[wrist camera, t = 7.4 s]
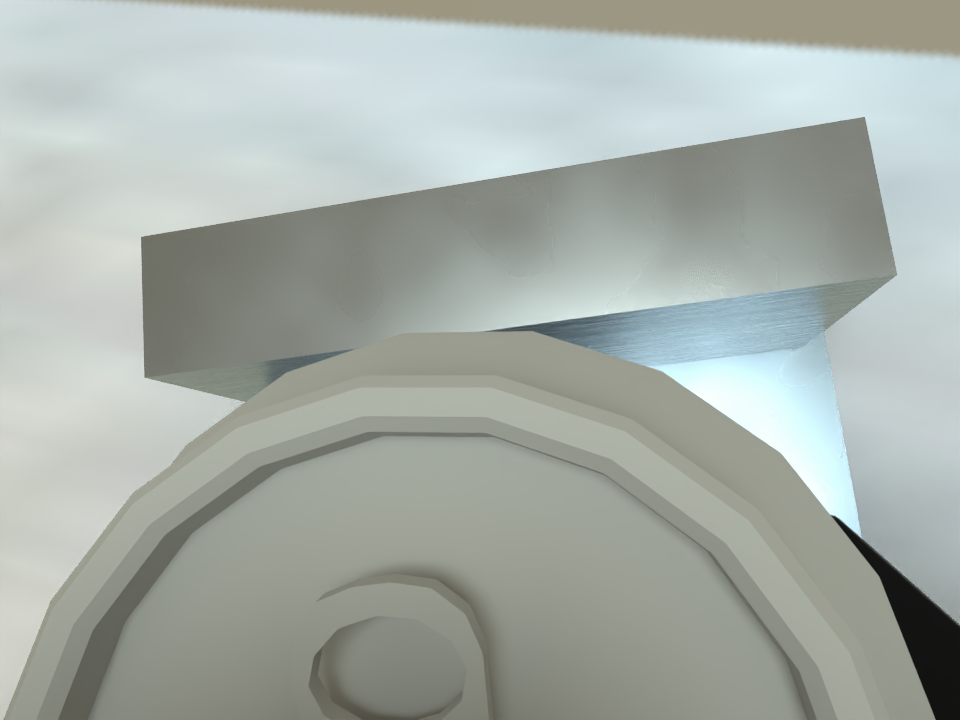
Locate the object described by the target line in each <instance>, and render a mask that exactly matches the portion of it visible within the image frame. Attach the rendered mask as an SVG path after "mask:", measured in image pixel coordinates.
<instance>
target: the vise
mask: <svg viewBox="0 0 960 720" xmlns="http://www.w3.org/2000/svg"><path fill="white" fill-rule="evenodd" d="M141 249H142V289H143V330H144V370H145V378H149V379H153V380H157V381H161V382H165V383H169V384H174V385H178V386H182V387H186V388H190V389H194V390H198V391H203V392H207V393H211V394H215V395H219V396H223V397H228V398H232V399H236V400H240V401H244V402H247V401H248V400H249V399H251V398H252V397H253V396H255V395H256V394H258V393H259V392H260V391H262V390H263V389H264V388H266V387H267V386H269V385H270V384H271V383H273V382H274V381H275V380H277V379H278V378H280V377H281V376H282V375H284V374H285V373H286V372H289V371H292V370H295V369H298V368H301V367H304V366H307V365H310V364H313V363H316V362H319V361H322V360H325V359H328V358H331V357H334V356H337V355H340V354H343V353H346V352H349V351H352V350H355V349H358V348H361V347H364V346H367V345H370V344H373V343H376V342H379V341H382V340H384V339H387V338H390V337H393V336H396V335H399V334H402V333H430V332H510V331H533V332H537V333H540V334H543V335H546V336H550V337H553V338H556V339H559V340H563V341H566V342H569V343H572V344H576V345H579V346H582V347H585V348H589V349H592V350H595V351H598V352H602V353H605V354H608V355H611V356H615V357H618V358H621V359H624V360H628V361H631V362H634V363H637V364H641V365H644V366H647V367H650V368H653V369H657V370H660V371H662V372H664V373H665V374H667V375H668V376H670V377H671V378H673V379H674V380H676V381H677V382H678V383H680V384H681V385H683V386H684V387H686V388H687V389H689V390H690V391H691V392H693V393H694V394H696V395H697V396H699V397H700V398H702V399H703V400H705V401H706V402H707V403H709V404H710V405H712V406H713V407H715V408H716V409H718V410H719V411H721V412H722V413H723V414H725V415H726V416H728V417H729V418H731V419H732V420H734V421H735V422H737V423H738V424H739V425H741V426H742V427H744V428H745V429H747V430H748V431H750V432H751V433H752V434H754V435H755V436H757V437H758V438H760V439H761V440H763V441H764V442H766V443H767V444H768V445H770V446H771V447H773V448H774V449H776V450H777V451H779V452H780V453H782V455H783V456H784V457H785V458H786V460H787V461H788V462H789V463H790V465H791V466H792V467H793V468H794V470H795V471H796V472H797V474H798V475H799V476H800V477H801V479H802V480H803V481H804V482H805V484H806V485H807V486H808V487H809V489H810V490H811V491H812V492H813V494H814V495H815V496H816V497H817V499H818V500H819V501H820V503H821V504H822V505H823V506H824V508H825V509H826V510H827V511H828V513H829V514H830V515H834V516H836V517H838V518H839V519H840V520H842V521H843V522H844V523H845V524H846V525H847V526H848V527H849V528H851V529H852V530H853V531H854V532H855V533H856V534H857V535H859V536H860V537H861V538H862V535H861V529H860V524H859V518H858V513H857V508H856V502H855V497H854V491H853V486H852V481H851V475H850V470H849V464H848V459H847V454H846V448H845V443H844V437H843V432H842V427H841V421H840V416H839V410H838V405H837V400H836V394H835V389H834V383H833V378H832V373H831V367H830V362H829V356H828V351H827V346H826V340H825V335H824V331H825V330H826V329H827V328H829V327H830V326H831V325H832V324H834V323H835V322H836V321H838V320H839V319H840V318H842V317H843V316H844V315H845V314H847V313H848V312H849V311H851V310H852V309H853V308H855V307H856V306H857V305H858V304H860V303H861V302H862V301H864V300H865V299H866V298H868V297H869V296H870V295H871V294H873V293H874V292H875V291H877V290H878V289H879V288H881V287H882V286H883V285H884V284H886V283H887V282H888V281H890V280H891V279H892V278H894V277H895V276H896V275H897V272H896V267H895V262H894V257H893V252H892V248H891V243H890V238H889V233H888V228H887V223H886V218H885V213H884V209H883V204H882V199H881V194H880V189H879V184H878V179H877V174H876V170H875V165H874V160H873V155H872V150H871V145H870V140H869V135H868V131H867V126H866V121H865V117H862V118H856V119H850V120H844V121H838V122H832V123H826V124H820V125H814V126H808V127H802V128H796V129H790V130H784V131H778V132H772V133H766V134H760V135H754V136H748V137H741V138H735V139H729V140H723V141H717V142H711V143H705V144H699V145H693V146H687V147H681V148H675V149H669V150H663V151H657V152H651V153H645V154H639V155H633V156H627V157H621V158H615V159H609V160H603V161H597V162H591V163H585V164H579V165H572V166H566V167H560V168H554V169H548V170H542V171H536V172H530V173H524V174H518V175H512V176H506V177H500V178H494V179H488V180H482V181H476V182H470V183H464V184H458V185H452V186H446V187H440V188H434V189H428V190H422V191H416V192H410V193H403V194H397V195H391V196H385V197H379V198H373V199H367V200H361V201H355V202H349V203H343V204H337V205H331V206H325V207H319V208H313V209H307V210H301V211H295V212H289V213H283V214H277V215H271V216H265V217H259V218H253V219H247V220H241V221H234V222H228V223H222V224H216V225H210V226H204V227H198V228H192V229H186V230H180V231H174V232H168V233H162V234H156V235H150V236H144V237H141Z"/></svg>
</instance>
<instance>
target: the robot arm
mask: <svg viewBox="0 0 960 720" xmlns="http://www.w3.org/2000/svg"><path fill="white" fill-rule="evenodd" d="M831 516H832V518H833V519H834V520H835V521H836V523H837V524H838V525H839V526H840V528H841V529H842V530H843V532H844V533H845V534H846V535H847V537H848V538H849V539H850V540H851V542H852V543H853V544H854V545H855V547H856V548H857V549H858V550H859V552H860V553H861V554H862V555H863V557H864V558H865V559H866V561H867V562H868V563H869V564H870V566H871V567H872V568H873V569H874V571H875V572H876V573H877V574H878V576H879V577H880V580H881V582H882V585H883V588H884V590H885V593H886V595H887V598H888V600H889V603H890V605H891V608H892V610H893V613H894V615H895V618H896V621H897V623H898V626H899V628H900V631H901V633H902V636H903V638H904V641H905V643H906V646H907V648H908V651H909V654H910V656H911V659H912V661H913V664H914V666H915V669H916V671H917V674H918V676H919V679H920V681H921V684H922V687H923V689H924V692H925V694H926V697H927V699H928V702H929V704H930V707H931V709H932V712H933V715H934V717H935V720H960V625H959V624H958V623H957V622H956V621H954V620H953V619H952V618H951V617H950V616H949V615H948V614H947V613H945V612H944V611H943V610H942V609H941V608H940V607H939V606H938V605H936V604H935V603H934V602H933V601H932V600H931V599H930V598H929V597H927V596H926V595H925V594H924V593H923V592H922V591H921V590H919V589H918V588H917V587H916V586H915V585H914V584H913V583H912V582H910V581H909V580H908V579H907V578H906V577H905V576H904V575H903V574H901V573H900V572H899V571H898V570H897V569H896V568H895V567H894V566H892V565H891V564H890V563H889V562H888V561H887V560H886V559H884V558H883V557H882V556H881V555H880V554H879V553H878V552H877V551H875V550H874V549H873V548H872V547H871V546H870V545H869V544H868V543H866V542H865V541H864V540H863V539H862V538H861V537H860V536H859V535H857V534H856V533H855V532H854V531H853V530H852V529H851V528H849V527H848V526H847V525H846V524H845V523H844V522H843V521H842V520H840V519H839V518H838V517H836V516H834V515H831Z"/></svg>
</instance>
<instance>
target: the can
mask: <svg viewBox="0 0 960 720" xmlns="http://www.w3.org/2000/svg"><path fill="white" fill-rule="evenodd" d="M4 720H935V717H934V715H933V712H932V709H931V707H930V704H929V702H928V699H927V697H926V694H925V692H924V689H923V687H922V684H921V681H920V679H919V676H918V674H917V671H916V669H915V666H914V664H913V661H912V659H911V656H910V654H909V651H908V648H907V646H906V643H905V641H904V638H903V636H902V633H901V631H900V628H899V626H898V623H897V621H896V618H895V615H894V613H893V610H892V608H891V605H890V603H889V600H888V598H887V595H886V593H885V590H884V588H883V585H882V582H881V580H880V577H879V576H878V574H877V573H876V572H875V571H874V569H873V568H872V567H871V566H870V564H869V563H868V562H867V561H866V559H865V558H864V557H863V555H862V554H861V553H860V552H859V550H858V549H857V548H856V547H855V545H854V544H853V543H852V542H851V540H850V539H849V538H848V537H847V535H846V534H845V533H844V532H843V530H842V529H841V528H840V526H839V525H838V524H837V523H836V521H835V520H834V519H833V518H832V516H831V515H830V514H829V513H828V511H827V510H826V509H825V508H824V506H823V505H822V504H821V503H820V501H819V500H818V499H817V497H816V496H815V495H814V494H813V492H812V491H811V490H810V489H809V487H808V486H807V485H806V484H805V482H804V481H803V480H802V479H801V477H800V476H799V475H798V474H797V472H796V471H795V470H794V468H793V467H792V466H791V465H790V463H789V462H788V461H787V460H786V458H785V457H784V456H783V455H782V453H780V452H779V451H777V450H776V449H774V448H773V447H771V446H770V445H768V444H767V443H766V442H764V441H763V440H761V439H760V438H758V437H757V436H755V435H754V434H752V433H751V432H750V431H748V430H747V429H745V428H744V427H742V426H741V425H739V424H738V423H737V422H735V421H734V420H732V419H731V418H729V417H728V416H726V415H725V414H723V413H722V412H721V411H719V410H718V409H716V408H715V407H713V406H712V405H710V404H709V403H707V402H706V401H705V400H703V399H702V398H700V397H699V396H697V395H696V394H694V393H693V392H691V391H690V390H689V389H687V388H686V387H684V386H683V385H681V384H680V383H678V382H677V381H676V380H674V379H673V378H671V377H670V376H668V375H667V374H665V373H664V372H662V371H660V370H657V369H653V368H650V367H647V366H644V365H641V364H637V363H634V362H631V361H628V360H624V359H621V358H618V357H615V356H611V355H608V354H605V353H602V352H598V351H595V350H592V349H589V348H585V347H582V346H579V345H576V344H572V343H569V342H566V341H563V340H559V339H556V338H553V337H550V336H546V335H543V334H540V333H537V332H533V331H510V332H430V333H402V334H399V335H396V336H393V337H390V338H387V339H384V340H382V341H379V342H376V343H373V344H370V345H367V346H364V347H361V348H358V349H355V350H352V351H349V352H346V353H343V354H340V355H337V356H334V357H331V358H328V359H325V360H322V361H319V362H316V363H313V364H310V365H307V366H304V367H301V368H298V369H295V370H292V371H289V372H286V373H285V374H284V375H282V376H281V377H280V378H278V379H277V380H275V381H274V382H273V383H271V384H270V385H269V386H267V387H266V388H264V389H263V390H262V391H260V392H259V393H258V394H256V395H255V396H253V397H252V398H251V399H249V400H248V401H247V402H245V403H244V404H242V405H241V406H240V407H238V408H237V409H236V410H234V411H233V412H231V413H230V414H229V415H227V416H226V417H225V418H223V419H222V420H220V421H219V422H218V423H216V424H215V425H214V426H212V427H211V428H210V429H208V430H207V431H205V432H204V433H203V434H201V435H200V436H199V437H197V438H196V439H194V440H193V441H192V442H190V443H189V444H188V445H186V446H185V448H184V449H183V450H182V451H181V453H180V454H179V455H178V457H177V458H176V459H175V461H174V462H173V463H172V465H171V466H170V467H168V468H167V469H166V470H164V471H163V472H161V473H160V474H159V475H157V476H156V477H155V478H153V479H152V480H150V481H149V482H148V483H146V484H145V485H144V486H142V487H141V488H139V489H138V490H137V491H135V492H134V493H133V494H132V495H131V496H130V498H129V499H128V500H127V502H126V503H125V504H124V505H123V507H122V508H121V509H120V511H119V512H118V513H117V515H116V516H115V517H114V519H113V520H112V521H111V523H110V524H109V525H108V527H107V528H106V529H105V530H104V532H103V533H102V534H101V536H100V537H99V538H98V540H97V541H96V542H95V544H94V545H93V546H92V548H91V549H90V550H89V551H88V553H87V554H86V555H85V557H84V558H83V559H82V561H81V562H80V563H79V565H78V566H77V567H76V569H75V570H74V571H73V572H72V574H71V575H70V576H69V578H68V579H67V580H66V582H65V583H64V584H63V586H62V587H61V588H60V590H59V591H58V592H57V593H56V595H55V596H54V597H53V599H52V600H51V602H50V604H49V607H48V609H47V612H46V614H45V617H44V619H43V622H42V624H41V627H40V629H39V632H38V635H37V637H36V640H35V642H34V645H33V647H32V650H31V652H30V655H29V657H28V660H27V662H26V665H25V667H24V670H23V672H22V675H21V677H20V680H19V682H18V685H17V687H16V690H15V692H14V695H13V697H12V700H11V702H10V705H9V707H8V710H7V713H6V715H5V718H4Z"/></svg>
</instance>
